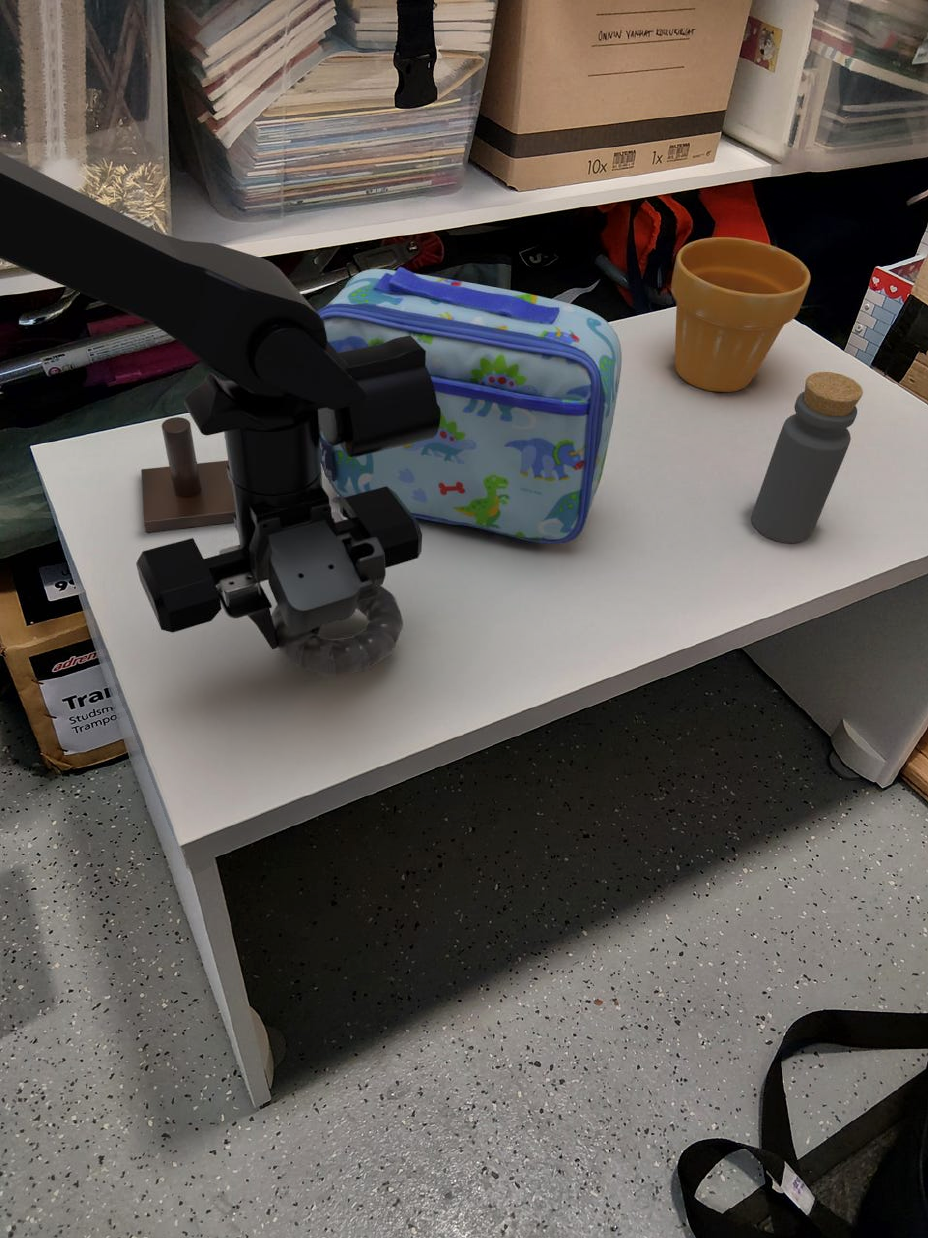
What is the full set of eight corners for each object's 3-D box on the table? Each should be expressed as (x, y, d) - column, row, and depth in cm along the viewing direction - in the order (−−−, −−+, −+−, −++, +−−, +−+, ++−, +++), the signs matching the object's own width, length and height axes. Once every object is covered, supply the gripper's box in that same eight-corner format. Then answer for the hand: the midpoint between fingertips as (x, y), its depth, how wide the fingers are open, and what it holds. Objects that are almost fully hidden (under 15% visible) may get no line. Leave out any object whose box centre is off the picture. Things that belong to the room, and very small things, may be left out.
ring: (282, 691, 68) (279, 667, 66) (266, 599, 75) (263, 575, 73) (414, 669, 70) (414, 646, 68) (386, 582, 77) (386, 559, 75)
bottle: (785, 499, 92) (837, 362, 82) (825, 535, 89) (885, 396, 78) (738, 513, 90) (785, 374, 80) (777, 550, 86) (832, 410, 76)
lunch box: (303, 503, 87) (287, 288, 72) (348, 442, 94) (341, 236, 80) (575, 572, 83) (617, 358, 68) (600, 502, 90) (642, 295, 75)
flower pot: (791, 367, 111) (828, 260, 102) (750, 420, 102) (786, 308, 93) (680, 331, 116) (706, 225, 106) (632, 378, 107) (656, 268, 98)
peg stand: (146, 532, 83) (128, 456, 77) (143, 479, 88) (126, 403, 82) (238, 521, 85) (227, 446, 79) (229, 470, 90) (219, 395, 84)
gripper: (164, 589, 51) (203, 761, 62) (465, 503, 58) (452, 672, 69) (113, 476, 58) (156, 650, 69) (388, 412, 65) (387, 578, 76)
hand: (292, 638), depth 70 cm, fingers closed on ring, 3 cm apart
